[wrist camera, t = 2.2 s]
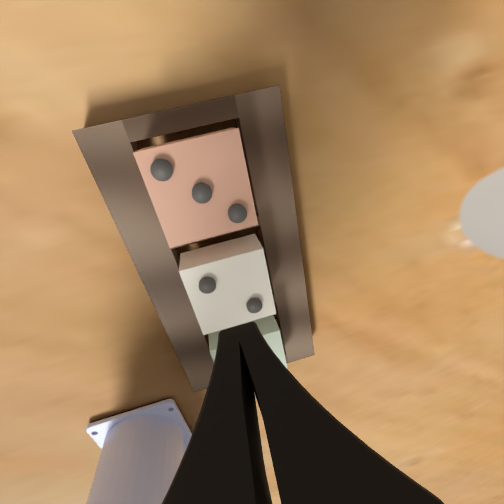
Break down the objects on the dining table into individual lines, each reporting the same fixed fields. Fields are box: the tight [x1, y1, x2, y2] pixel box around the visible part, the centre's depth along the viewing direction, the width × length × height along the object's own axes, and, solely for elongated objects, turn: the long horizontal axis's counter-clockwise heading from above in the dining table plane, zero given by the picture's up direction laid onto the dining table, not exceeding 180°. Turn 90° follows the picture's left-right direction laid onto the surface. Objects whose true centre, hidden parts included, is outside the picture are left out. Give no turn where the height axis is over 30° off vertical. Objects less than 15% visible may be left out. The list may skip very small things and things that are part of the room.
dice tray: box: [72, 85, 315, 392], centre depth 20 cm, size 21×11×2 cm, turn 12°
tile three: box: [133, 128, 258, 248], centre depth 15 cm, size 5×5×3 cm
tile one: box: [208, 315, 288, 369], centre depth 21 cm, size 5×5×3 cm
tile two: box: [179, 234, 276, 335], centre depth 18 cm, size 5×5×3 cm
